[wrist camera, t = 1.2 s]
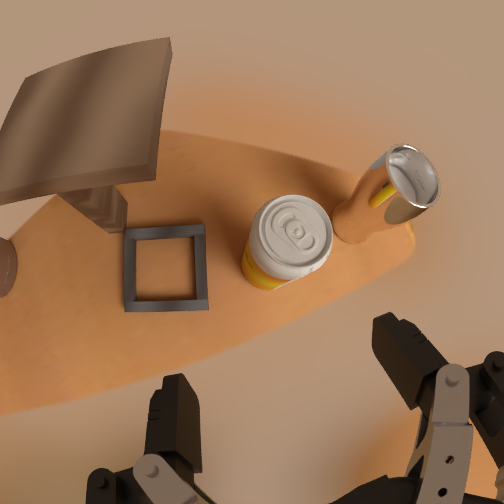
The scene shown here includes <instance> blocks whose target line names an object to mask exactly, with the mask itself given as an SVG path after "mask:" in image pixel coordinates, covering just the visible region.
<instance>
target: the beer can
mask: <svg viewBox="0 0 504 504" xmlns="http://www.w3.org/2000/svg"><path fill="white" fill-rule="evenodd" d="M332 238H333V230H332V224H331V221H330V219H329V217H328V215H327V213H326V212H325V210H324V209H323V208H322V207H321V206H320V205H319V204H318V203H317V202H315V201H314V200H312V199H310V198H308V197H305V196H302V195H295V194H291V195H284V196H280V197H276V198H274V199H272V200H270V201H268V202H267V203H265V204H264V205H263V206H262V207H261V208H260V209H259V210H258V212H257V213H256V215H255V217H254V220H253V223H252V226H251V230H250V233H249V237H248V240H247V243H246V247H245V250H244V254H243V257H242V270H243V273H244V276H245V278H246V279H247V280H248V281H249V283H251V284H252V285H253V286H255V287H257V288H259V289H262V290H273V289H277V288H279V287H281V286H284V285H286V284H288V283H290V282H292V281H294V280H296V279H299V278H301V277H303V276H305V275H307V274H309V273H311V272H313V271H315V270H316V269H318V268H319V267H320V266H321V265H322V264H323V263H324V262H325V261H326V259H327V257H328V256H329V253H330V251H331V247H332Z"/></svg>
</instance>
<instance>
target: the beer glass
mask: <svg viewBox="0 0 504 504" xmlns="http://www.w3.org/2000/svg"><path fill="white" fill-rule="evenodd" d="M440 191H441V185H440V180H439V177H438V174H437V171H436V169H435V167H434V165H433V164H432V162H431V161H430V160H429V159H428V158H427V156H426V155H424V153H422V152H421V151H420V150H419V149H417V148H415V147H413V146H411V145H408V144H396V145H394V146H392V147H391V148H390V149H389V150H388V151H387V152H386V153H384V154H383V155H382V156H381V157H380V158H378V159H377V160H376V161H375V162H374V163H373V164H372V165H371V166H370V167H369V168H368V169H367V170H366V172H365V173H364V174H363V175H362V177H361V178H360V180H359V182H358V183H357V185H356V187H355V189H354V191H353V193H352V195H351V196H350V198H349V199H348V200H345V201H343V202H341V203H340V204H338V205H337V206H336V207H335V209H334V211H333V213H332V226H333V229H334V231H335V233H336V234H337V236H338V237H339V238H340V239H341V240H343V241H344V242H346V243H349V244H361V243H363V242H365V241H366V240H367V239H368V238H369V237H370V236H371V235H372V234H373V233H375V232H378V231H384V230H388V229H392V228H396V227H399V226H402V225H404V224H406V223H408V222H410V221H411V220H413V219H414V218H416V217H418V216H419V215H421V214H422V213H423V212H425V211H426V210H427V209H429V208H430V207H432V206H433V205H435V204H436V203H437V201H438V199H439V197H440Z"/></svg>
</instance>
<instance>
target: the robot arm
mask: <svg viewBox="0 0 504 504" xmlns="http://www.w3.org/2000/svg"><path fill="white" fill-rule="evenodd" d="M16 271H17V257H16V252H15V249H14V247H13V245H12V244H11V243H10V242H9V241H8V240H5V239H3V238H1V237H0V297H3V296H5V295H6V294H7V293H8V292H9V291H10V289H11V288H12V286H13V283H14V280H15V277H16ZM372 331H373V332H372V349H373V352H374V354H375V356H376V358H377V359H378V361H379V362H380V364H381V365H382V367H383V368H384V370H385V371H386V373H387V374H388V376H389V377H390V379H391V381H392V382H393V384H394V385H395V387H396V388H397V390H398V391H399V393H400V394H401V396H402V398H403V399H404V401H405V402H406V404H407V406H408V407H409V409H410V410H413V409H414V408H416V407H418V406H419V407H420V409H421V415H420V421H419V426H418V431H417V436H416V441H415V445H414V449H413V453H412V456H411V458H410V461H409V463H408V466H407V469H406V473H405V476H404V477H395V478H389V479H388V477H387V475H384V476H382V477H380V478H377V479H375V480H373V481H370V482H368V483H366V484H363V485H361V486H358V487H357V488H355V489H354V490H352V491H351V492H349V493H348V494H346V495H344V496H343V497H341V498H339V499H338V500H336V501H334V502H332V503H329V504H504V353H503V352H499V351H495V352H491V353H489V354H488V355H487V356H486V358H485V360H484V362H483V363H482V364H479V365H475V366H472V367H468V368H464V367H462V366H460V365H457V364H449V363H448V362H447V361H446V359H444V357H443V356H442V355H441V354H440V352H439V351H438V350H437V349H436V348H435V347H434V346H433V345H432V343H431V342H430V341H429V340H427V338H426V337H425V336H424V335H423V333H421V331H420V330H419V329H418V328H417V327H416V326H415V324H413V323H411V322H409V321H407V320H405V319H402V320H400V321H399V320H398V319H397V318H396V317H395V315H394V314H393V313H391V312H388V313H386V314H383V315H381V316H378V317H376V318H374V319H373V330H372ZM468 418H470V419H471V421H472V422H473V424H474V426H475V427H476V429H477V431H478V432H479V434H480V436H481V437H482V439H483V441H484V443H485V445H486V446H487V448H488V450H489V452H490V454H491V456H492V457H493V459H494V461H495V463H496V465H497V467H498V469H499V471H498V473H497V476H496V481H495V487H496V488H497V489H498V491H497V497H496V499H491V498H486V497H481V496H476V495H472V494H468V493H464V491H465V487H466V482H467V477H468V471H469V465H470V458H471V451H472V442H473V426H472V424H469V421H468ZM194 473H202V456H201V435H200V406H199V401H198V398H197V395H196V393H195V392H194V390H193V389H192V387H191V386H190V384H189V382H188V381H187V379H186V378H185V376H184V375H183V374H182V373H179V374H174V375H168V376H164V378H163V385H162V389H159V390H156V391H155V393H154V394H153V396H152V398H151V400H150V405H149V413H148V422H147V430H146V441H145V451H144V455H143V456H142V457H140V458H139V459H138V460H137V461H136V463H135V464H134V467H131V468H129V469H125V470H122V471H119V472H115V473H113V472H111V471H109V470H108V469H105V468H99V469H96V470H94V471H93V472H92V473H91V474H90V475H89V477H88V482H87V491H86V504H217V503H216V502H215V501H214V500H213V499H212V498H211V497H209V496H208V495H207V494H206V493H205V492H204V491H203V490H202V489H201V488H200V487H199V486H198V485H197V484H196V483H195V482H194Z"/></svg>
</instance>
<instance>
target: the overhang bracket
mask: <svg viewBox="0 0 504 504" xmlns="http://www.w3.org/2000/svg"><path fill="white" fill-rule="evenodd" d="M171 59H172V49H171V42H170V38H169V37H167V38H160V39H153V40H147V41H142V42H136V43H131V44H127V45H122V46H118V47H114V48H109V49H106V50H102V51H98V52H95V53H91V54H88V55H84V56H81V57H78V58H75V59H72V60H69V61H66V62H63V63H60V64H58V65H55V66H52V67H50V68H47V69H45V70H43V71H40V72H38V73H36V74H33V75H31V76H29V77H26V78H25V80H24V82H23V83H22V85H21V87H20V89H19V91H18V93H17V95H16V97H15V99H14V101H13V103H12V105H11V107H10V110H9V111H8V114H7V116H6V118H5V120H4V123H3V125H2V128H1V130H0V205H5V204H9V203H13V202H17V201H22V200H26V199H31V198H36V197H41V196H46V195H52V194H58V195H59V196H60V197H62V198H63V199H64V200H65V201H67V202H68V203H69V204H71V205H72V206H73V207H74V208H76V209H77V210H78V211H80V212H81V213H82V214H84V215H85V216H86V217H88V218H89V219H90V220H92V221H93V222H94V223H96V224H97V225H98V226H100V227H101V228H103V229H104V230H105V231H107V232H108V233H122V232H125V238H124V307H125V312H167V311H197V310H209V305H208V288H207V268H206V242H205V225H204V224H196V225H179V226H164V227H150V228H136V229H126V221H127V206H128V203H127V201H126V200H125V199H124V198H123V197H122V196H121V194H120V193H119V192H118V191H117V190H116V188H115V187H114V186H113V185H116V184H124V183H133V182H142V181H152V180H156V167H157V155H158V145H159V136H160V127H161V119H162V112H163V104H164V98H165V91H166V86H167V80H168V74H169V69H170V63H171ZM187 237H194V238H195V271H196V293H197V300H180V301H145V302H137V297H136V241H138V240H154V239H170V238H187Z"/></svg>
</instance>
